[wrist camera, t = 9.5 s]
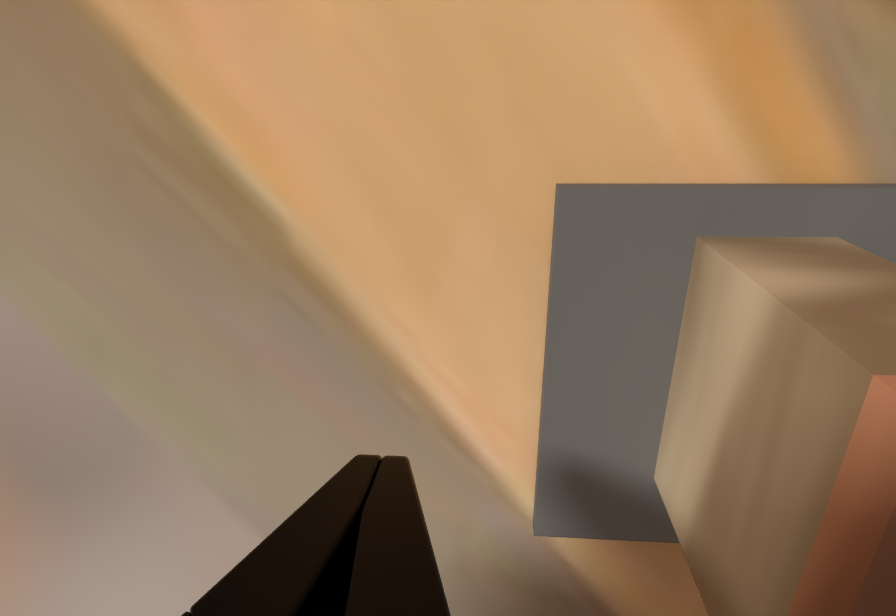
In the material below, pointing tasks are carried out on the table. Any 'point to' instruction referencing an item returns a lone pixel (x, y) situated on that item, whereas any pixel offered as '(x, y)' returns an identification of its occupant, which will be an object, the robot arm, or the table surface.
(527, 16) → the table surface
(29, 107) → the table surface
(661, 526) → the felt mat
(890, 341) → the birch block
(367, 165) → the table surface
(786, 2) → the table surface
